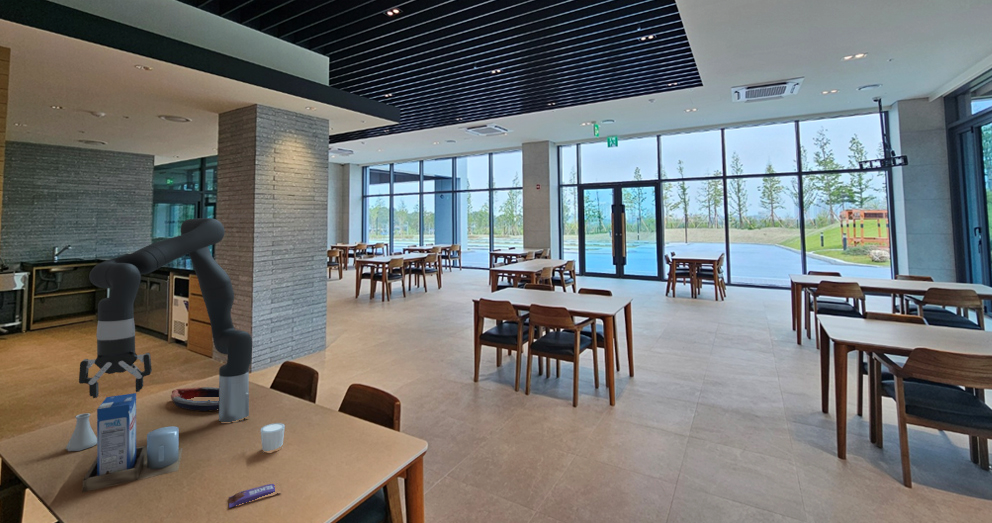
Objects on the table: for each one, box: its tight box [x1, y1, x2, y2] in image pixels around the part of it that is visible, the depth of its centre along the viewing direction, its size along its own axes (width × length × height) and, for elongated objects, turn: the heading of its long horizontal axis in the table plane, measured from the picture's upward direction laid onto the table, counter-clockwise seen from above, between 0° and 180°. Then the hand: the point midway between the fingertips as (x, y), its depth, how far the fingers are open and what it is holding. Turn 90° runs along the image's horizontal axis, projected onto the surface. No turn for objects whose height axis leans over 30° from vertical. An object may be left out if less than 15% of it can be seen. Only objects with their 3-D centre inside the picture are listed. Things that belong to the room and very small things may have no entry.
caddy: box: [82, 445, 184, 493], centre depth 112 cm, size 19×15×4 cm
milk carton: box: [96, 392, 137, 476], centre depth 110 cm, size 10×6×20 cm, turn 34°
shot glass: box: [260, 422, 286, 451], centre depth 127 cm, size 7×7×7 cm
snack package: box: [228, 483, 275, 509], centre depth 103 cm, size 12×2×5 cm
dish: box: [170, 386, 219, 412], centre depth 161 cm, size 16×31×5 cm, turn 71°
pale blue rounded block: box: [146, 426, 180, 469], centre depth 115 cm, size 7×8×9 cm
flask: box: [65, 412, 97, 452], centre depth 126 cm, size 7×7×10 cm
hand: (117, 394), depth 109 cm, fingers open, 8 cm apart
